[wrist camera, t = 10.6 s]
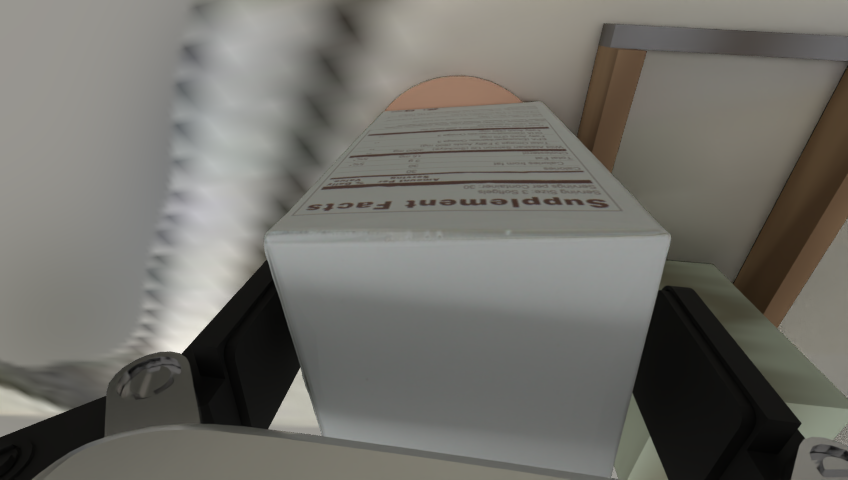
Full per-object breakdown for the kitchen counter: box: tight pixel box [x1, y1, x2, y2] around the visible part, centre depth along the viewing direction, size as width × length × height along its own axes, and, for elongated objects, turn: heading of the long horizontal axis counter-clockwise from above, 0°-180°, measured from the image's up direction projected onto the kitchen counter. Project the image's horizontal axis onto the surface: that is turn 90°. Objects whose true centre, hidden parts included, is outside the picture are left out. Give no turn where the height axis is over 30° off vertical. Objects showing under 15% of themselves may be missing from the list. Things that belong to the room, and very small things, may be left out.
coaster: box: [385, 76, 523, 111], centre depth 20 cm, size 9×9×1 cm
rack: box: [577, 24, 848, 480], centre depth 16 cm, size 11×18×9 cm, turn 177°
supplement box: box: [264, 101, 671, 478], centre depth 14 cm, size 7×7×13 cm
